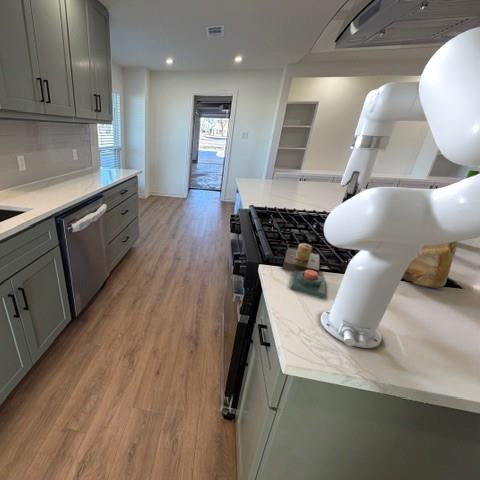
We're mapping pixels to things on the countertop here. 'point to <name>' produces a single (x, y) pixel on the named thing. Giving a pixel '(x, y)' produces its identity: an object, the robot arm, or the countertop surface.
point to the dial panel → (300, 262)
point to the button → (310, 274)
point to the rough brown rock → (431, 265)
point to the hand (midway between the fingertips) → (346, 211)
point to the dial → (304, 252)
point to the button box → (308, 284)
